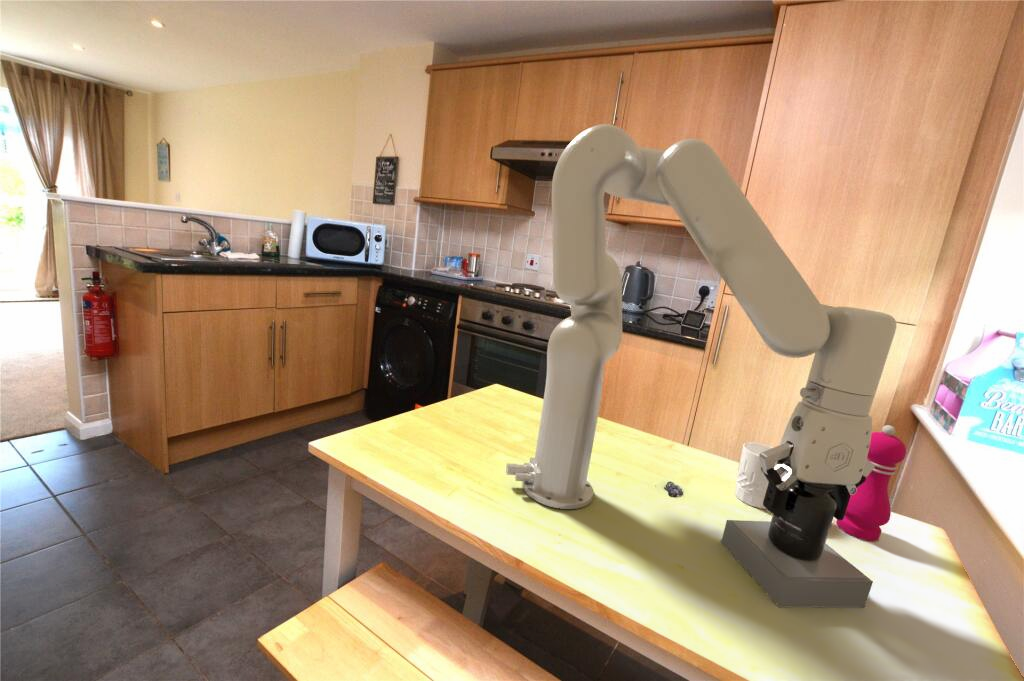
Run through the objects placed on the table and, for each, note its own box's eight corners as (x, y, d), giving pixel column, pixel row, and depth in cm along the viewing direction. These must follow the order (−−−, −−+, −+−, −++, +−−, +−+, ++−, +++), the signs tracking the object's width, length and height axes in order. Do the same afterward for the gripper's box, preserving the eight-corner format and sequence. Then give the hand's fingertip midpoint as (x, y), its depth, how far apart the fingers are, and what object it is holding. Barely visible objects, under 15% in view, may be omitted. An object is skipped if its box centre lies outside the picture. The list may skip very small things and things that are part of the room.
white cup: (783, 515, 83) (797, 465, 81) (737, 505, 85) (750, 455, 83) (768, 493, 91) (781, 447, 89) (726, 485, 92) (738, 439, 90)
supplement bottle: (769, 551, 64) (790, 473, 62) (764, 526, 71) (783, 454, 68) (826, 569, 62) (850, 488, 59) (816, 542, 68) (837, 468, 66)
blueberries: (655, 501, 84) (657, 492, 83) (648, 477, 92) (650, 468, 91) (692, 508, 83) (695, 499, 83) (682, 483, 91) (684, 475, 91)
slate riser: (779, 607, 60) (787, 579, 59) (721, 542, 72) (726, 519, 71) (864, 607, 62) (873, 580, 61) (793, 544, 74) (800, 521, 73)
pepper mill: (869, 547, 77) (905, 436, 73) (824, 522, 83) (855, 418, 79) (890, 539, 80) (926, 432, 76) (845, 515, 86) (876, 416, 82)
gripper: (800, 404, 57) (765, 526, 60) (917, 415, 59) (877, 531, 63) (760, 384, 64) (731, 495, 67) (866, 395, 67) (833, 501, 70)
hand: (802, 512), depth 65 cm, fingers open, 9 cm apart
